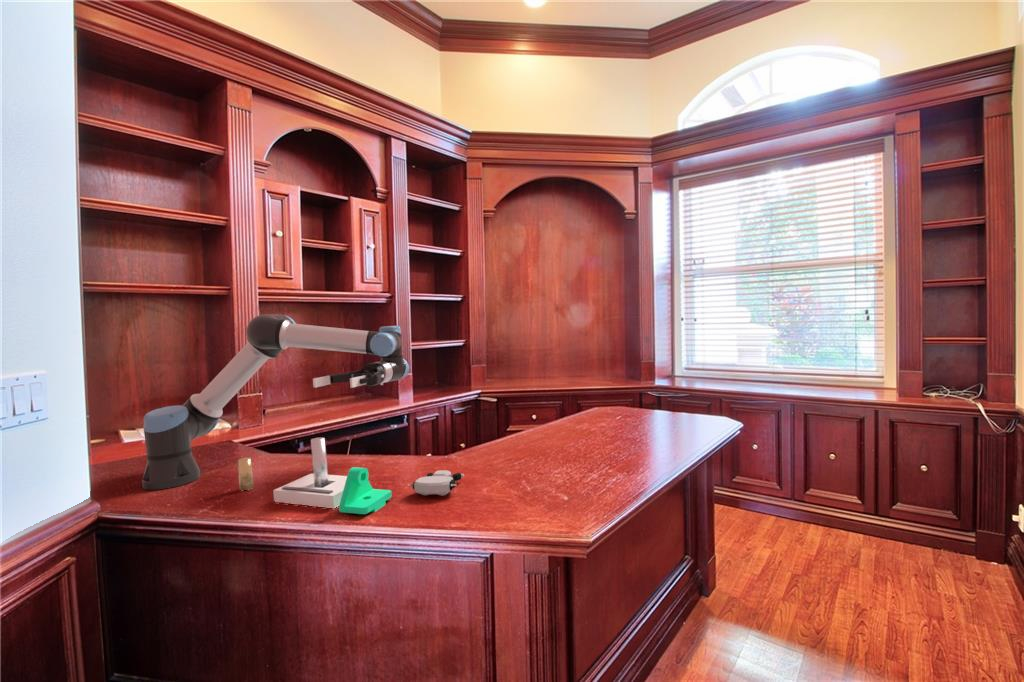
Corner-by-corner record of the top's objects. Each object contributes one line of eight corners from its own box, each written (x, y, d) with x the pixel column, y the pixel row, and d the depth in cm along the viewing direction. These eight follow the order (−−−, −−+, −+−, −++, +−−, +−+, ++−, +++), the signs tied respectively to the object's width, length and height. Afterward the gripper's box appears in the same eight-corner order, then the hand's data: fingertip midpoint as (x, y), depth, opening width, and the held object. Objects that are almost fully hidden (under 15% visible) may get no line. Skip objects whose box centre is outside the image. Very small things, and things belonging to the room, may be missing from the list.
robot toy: (426, 484, 142) (406, 499, 128) (425, 468, 143) (406, 482, 128) (467, 484, 140) (451, 500, 126) (466, 468, 140) (451, 482, 126)
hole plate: (274, 502, 131) (273, 488, 131) (312, 484, 144) (311, 472, 144) (334, 509, 124) (332, 494, 124) (368, 489, 137) (367, 476, 137)
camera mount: (366, 518, 118) (363, 477, 117) (339, 516, 120) (336, 475, 120) (393, 499, 129) (390, 461, 128) (369, 498, 131) (366, 460, 131)
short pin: (242, 487, 145) (239, 458, 145) (255, 486, 146) (252, 456, 146) (238, 492, 142) (235, 461, 141) (251, 490, 143) (249, 460, 142)
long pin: (316, 494, 136) (311, 438, 135) (330, 493, 136) (325, 436, 136) (314, 499, 132) (309, 441, 131) (328, 497, 133) (323, 439, 132)
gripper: (408, 384, 160) (368, 395, 140) (346, 384, 168) (300, 395, 149) (407, 361, 159) (366, 370, 139) (345, 363, 168) (298, 370, 148)
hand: (332, 383), depth 144 cm, fingers open, 13 cm apart
